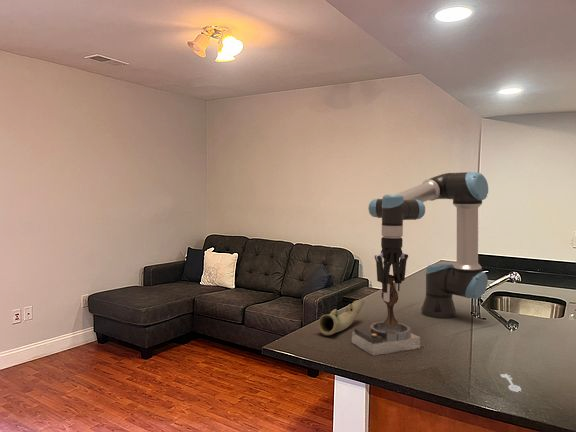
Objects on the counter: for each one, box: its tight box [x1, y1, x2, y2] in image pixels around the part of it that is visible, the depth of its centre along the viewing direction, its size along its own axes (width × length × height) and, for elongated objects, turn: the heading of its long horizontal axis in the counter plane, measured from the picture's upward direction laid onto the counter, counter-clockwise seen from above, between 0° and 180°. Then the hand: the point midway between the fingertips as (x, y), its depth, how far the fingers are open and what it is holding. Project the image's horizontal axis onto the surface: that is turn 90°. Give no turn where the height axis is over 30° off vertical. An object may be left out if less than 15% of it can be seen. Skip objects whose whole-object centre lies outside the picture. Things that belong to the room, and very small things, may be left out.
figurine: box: [381, 273, 399, 325], centre depth 162 cm, size 7×5×18 cm
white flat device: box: [351, 320, 421, 357], centre depth 161 cm, size 20×14×6 cm
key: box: [500, 373, 522, 393], centre depth 130 cm, size 12×1×3 cm
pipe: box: [317, 299, 365, 336], centre depth 181 cm, size 28×8×10 cm, turn 147°
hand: (390, 300), depth 161 cm, fingers open, 3 cm apart
